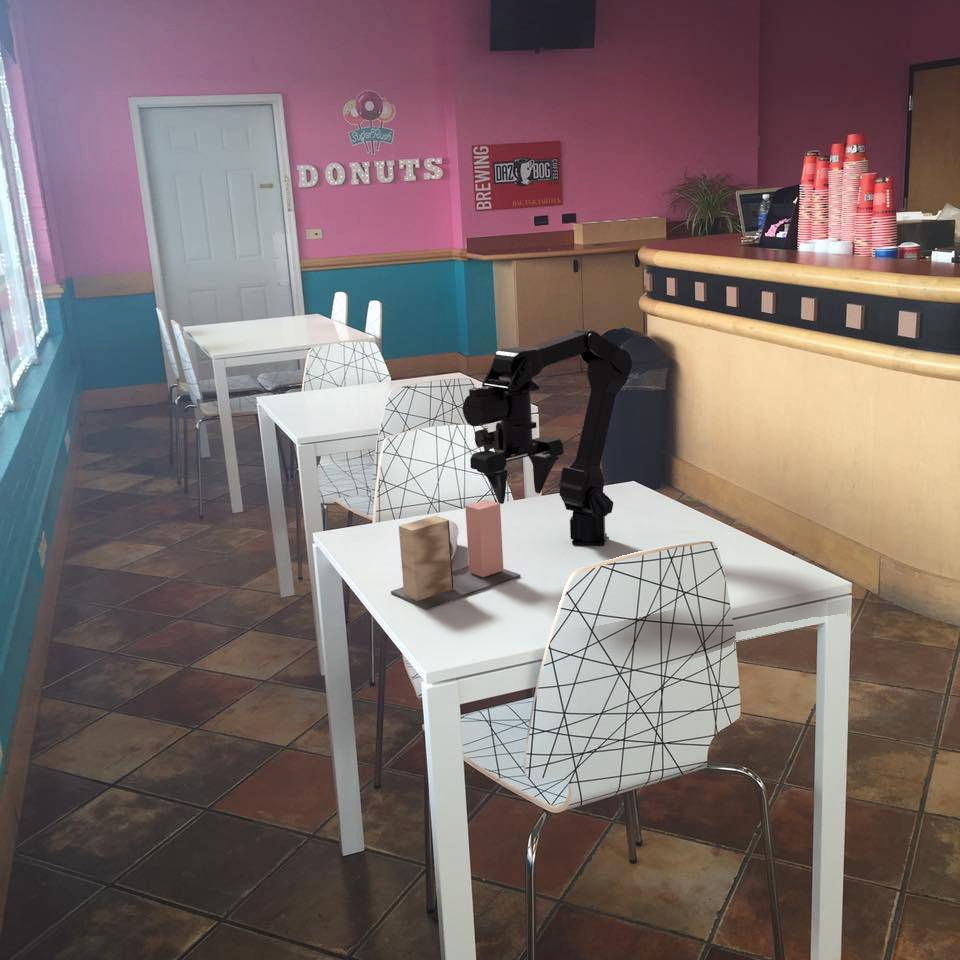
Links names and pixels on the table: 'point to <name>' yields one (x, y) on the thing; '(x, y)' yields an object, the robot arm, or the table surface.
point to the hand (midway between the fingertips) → (519, 498)
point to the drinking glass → (453, 537)
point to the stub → (484, 538)
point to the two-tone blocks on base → (437, 566)
